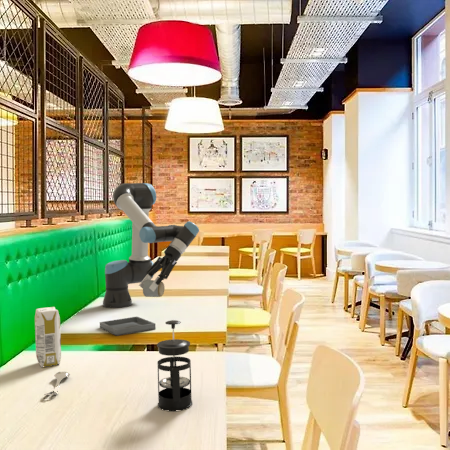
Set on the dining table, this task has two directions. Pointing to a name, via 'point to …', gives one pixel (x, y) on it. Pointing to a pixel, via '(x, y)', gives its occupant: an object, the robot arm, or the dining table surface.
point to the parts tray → (127, 326)
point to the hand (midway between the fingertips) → (146, 288)
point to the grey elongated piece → (58, 380)
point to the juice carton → (47, 336)
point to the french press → (174, 374)
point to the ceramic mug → (148, 292)
